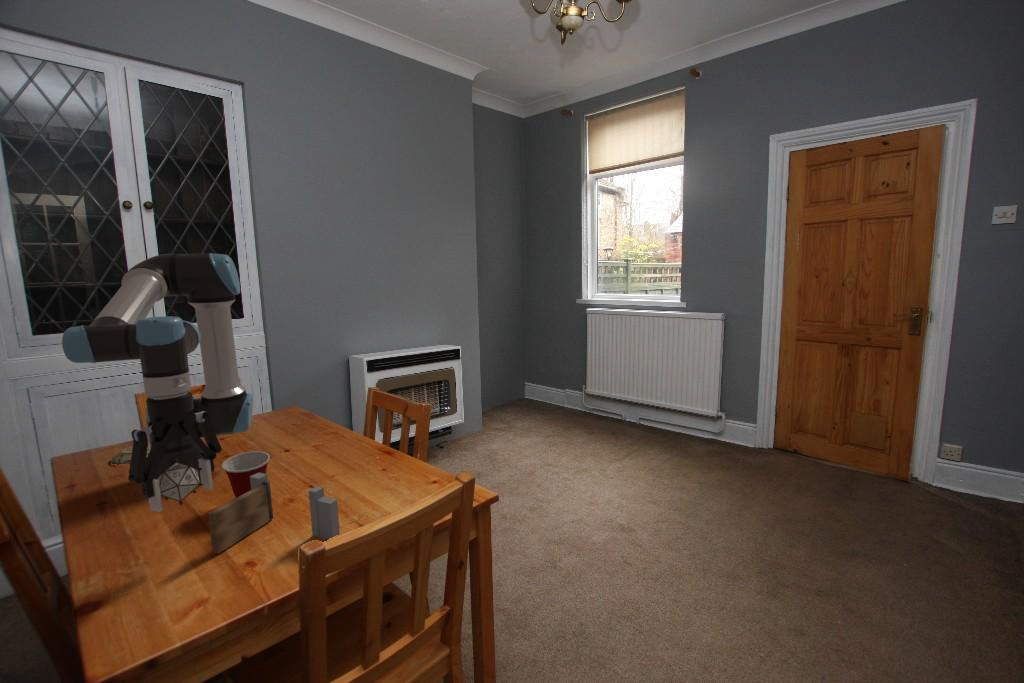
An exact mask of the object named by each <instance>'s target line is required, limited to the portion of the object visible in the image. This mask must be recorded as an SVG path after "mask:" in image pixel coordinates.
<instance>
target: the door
mask: <svg viewBox="0 0 1024 683" xmlns="http://www.w3.org/2000/svg"><path fill="white" fill-rule="evenodd" d="M271 489H272V488H271V481H270V480H268V481H264V482H263V485H260V486H258V487H256V488H254V489H252V490H250V491H248V492H247V493H245V494H243V495H241V496H239V497H237V498H236V497H235V498H233V499H232V500H230V501H228V502H227V503H224V504H222V505H221V506H219V507H216V508H215V509H213V510H211V511H210V512H208V513H207V514H208V524H209V532H210V539H211V547H212V553H214V554H217V555H218V554H220V553H222V552H224V551H225V550H227V549H228V548H230V547H232V546H233V545H235V544H236V543H238V542H239V541H241V540H242V539H244V538H245V537H247V536H248V535H251V534H252V533H253V532H254V531H257V530H259V528H261V527H263V526H265V525H266V524H267V523H269V522H270V520H273V519H274V512H273V511H274V510H273V503H272V492H271V491H272V490H271Z"/></svg>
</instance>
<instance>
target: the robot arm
mask: <svg viewBox="0 0 1024 683" xmlns="http://www.w3.org/2000/svg"><path fill="white" fill-rule="evenodd" d="M240 293H241V285H240V279H239V275H238V270H237V268H236V265H235V263H234V261H233V259H232V257H230V256H229V255H228V254H222V253H212V252H210V253H162V254H158V255H155V256H151V257H149V258H146V259H143V260H142V261H141V262H138V263H137V264H135V265H133V266H132V267H131V268H130V269H129V270H127V272H125V274H124V275H123V276H122V279H121V286H120V288H119V289H118V290H117V291H116V293H115V294H114V295H113V296H112V298H110V300H109V301H108V302H107V303H106V305H105V306H104V307H103V309H101V311H100V312H99V314H97V316H96V317H95V318H94V319H93V321H92V322H90V324H89V325H79V326H71V327H68V328H67V329H65V330H64V332H63V335H62V338H61V346H62V350H63V352H64V356H65V358H66V359H68V361H70V362H72V363H75V364H81V363H82V364H86V363H87V364H88V363H89V364H97V363H105V362H107V363H108V362H118V361H131V360H133V361H134V360H135V361H136V360H140V361H139V362H140V366H141V372H142V380H143V381H142V382H143V389H144V395H145V397H147V398H146V400H145V403H146V408H145V409H146V410H145V413H146V414H145V415H146V420H145V422H146V425H147V426H146V427H145V428H141V429H133V430H132V431H131V438H132V442H133V444H132V446H133V449H132V456H131V463H130V466H129V471H128V478H127V480H128V481H129V482H131V483H135V484H141V489H142V496H144V498H148V503H149V509H150V511H153V512H156V513H161V512H163V510H164V509H163V502H162V496H161V494H160V487H159V480H157V479H154V478H158V477H159V476H160V475H161V473H162V472H160V469H163V470H166V469H167V468H169V467H170V466H172V465H173V464H175V463H176V462H175V460H176V459H177V460H178V463H181V464H185V465H188V466H189V464H190V463H192V466H191V467H193V468H195V469H197V470H198V469H199V468H202V469H201V470H200V471H199V479H200V483H203V484H204V485H202V486H201V488H203V489H205V490H213V489H214V482H213V474H212V473H213V472H215V463H214V462H215V459H216V458H217V454H219V453H221V452H222V450H223V449H222V446H221V443H220V442H219V439H218V437H217V436H224V435H225V436H226V435H235V434H238V433H244V432H246V431H248V430H249V429H250V427H251V424H252V417H253V411H254V410H253V408H254V403H253V402H254V398H253V394H252V393H249V392H247V389H246V387H245V386H244V385H242V384H241V383H240V379H239V378H240V377H239V371H238V362H237V355H236V346H235V345H236V344H235V339H234V336H235V335H234V330H233V321H232V313H231V306H232V304H233V303H235V301H236V296H237V295H239V294H240ZM177 296H178V297H184V296H185V297H186V299H187V304H188V305H190V306H192V307H193V308H194V311H195V318H196V324H197V325H195V324H194V323H192V322H190V321H187V320H183V319H182V318H181V317H179V316H171V315H170V316H167V315H166V316H154V317H153V316H152V317H147V316H148V315H149V313H150V312H151V310H152V309H153V307H154V305H155V303H156V302H159V301H161V300H162V299H164V298H165V297H177ZM198 346H199V347H200V354H201V356H200V357H201V361H202V368H203V375H204V382H205V383H204V384H205V388H204V389H203V390H202V392H201V393H200V398H195V396H194V395H193V393H191V390H192V383H191V377H190V368H189V359H188V355H189V354H191V353H193V352H194V351H195V350H196V349H197V348H198ZM202 438H203V439H204V440H202ZM148 443H150V446H151V449H150V452H149V454H148V457H147V458H146V455H147V448H148Z"/></svg>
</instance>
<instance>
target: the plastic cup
mask: <svg viewBox="0 0 1024 683" xmlns="http://www.w3.org/2000/svg"><path fill="white" fill-rule="evenodd" d="M270 458H271V456H270V454H269V453H267V452H265V451H256V450H255V451H245V452H242V453H237V454H236V455H235V454H234V455H232V456H230V457H229V458H227V459H226V460H224V461H223V463H222V464H221V467H222V470H223V471H224V472H225V473H226V476H227V477H228V479H229V480H228V481H229V483H230V487H231V489H232V492H233V496H234V497H235V498H237V497H239V496H241V495H243V494H245V493H247V492H248V491H250V490H251V483H250V476H252V475H254V474H257V473H263V474H267V469H268V464H269V461H270Z"/></svg>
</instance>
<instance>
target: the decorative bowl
mask: <svg viewBox="0 0 1024 683" xmlns="http://www.w3.org/2000/svg"><path fill="white" fill-rule="evenodd" d="M132 449H133V445H129V446H128V447H125V448H123V449H121V450H120V452H117V453H116V454H115V455H114V456H113V457H112V458H111V460H110V462H111V463H112V464H117V465H119V464H130V463H131V456H132ZM150 449H151V446H150V442H148V448H147V455H146V459H147V457H148V454H149V452H150Z"/></svg>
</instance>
